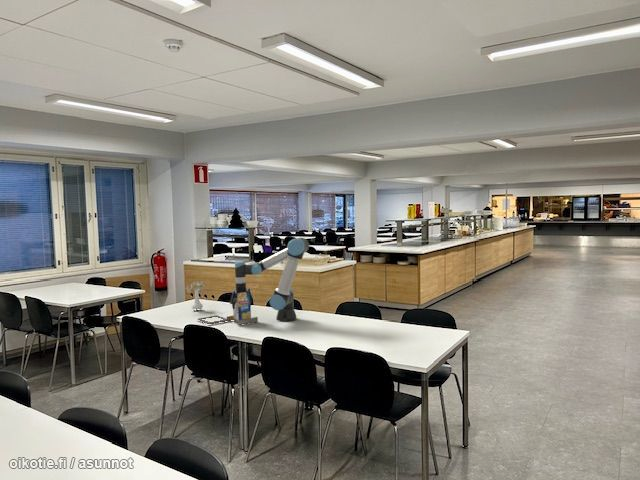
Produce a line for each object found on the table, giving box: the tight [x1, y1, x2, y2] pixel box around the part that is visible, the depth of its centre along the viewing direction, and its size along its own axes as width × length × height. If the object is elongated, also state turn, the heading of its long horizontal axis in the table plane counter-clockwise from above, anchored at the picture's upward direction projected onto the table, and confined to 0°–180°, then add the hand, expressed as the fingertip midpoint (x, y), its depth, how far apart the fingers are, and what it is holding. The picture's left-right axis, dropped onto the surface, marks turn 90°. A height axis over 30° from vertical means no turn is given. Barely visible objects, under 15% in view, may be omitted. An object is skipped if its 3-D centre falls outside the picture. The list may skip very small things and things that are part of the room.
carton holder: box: [226, 314, 259, 326], centre depth 346 cm, size 18×16×4 cm
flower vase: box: [184, 280, 206, 310], centre depth 394 cm, size 13×18×25 cm
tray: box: [197, 314, 228, 324], centre depth 351 cm, size 20×16×2 cm
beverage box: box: [232, 290, 252, 324], centre depth 345 cm, size 7×11×22 cm, turn 133°
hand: (242, 311), depth 346 cm, fingers closed on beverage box, 11 cm apart
